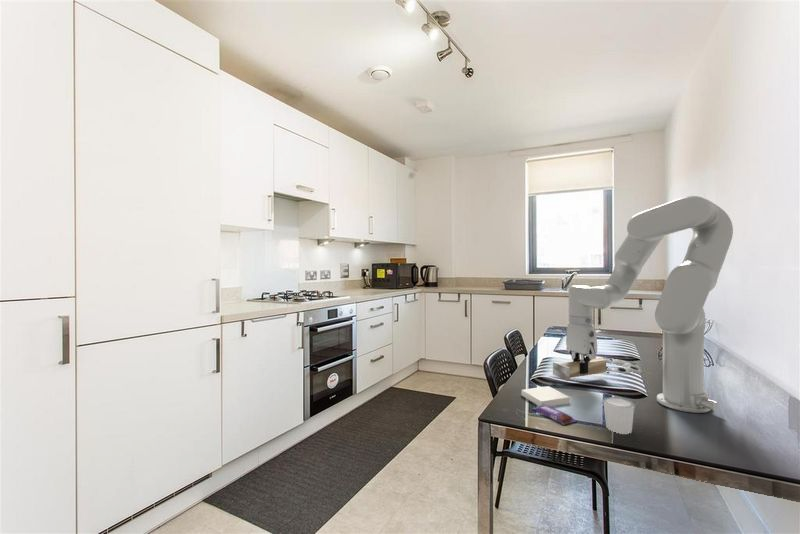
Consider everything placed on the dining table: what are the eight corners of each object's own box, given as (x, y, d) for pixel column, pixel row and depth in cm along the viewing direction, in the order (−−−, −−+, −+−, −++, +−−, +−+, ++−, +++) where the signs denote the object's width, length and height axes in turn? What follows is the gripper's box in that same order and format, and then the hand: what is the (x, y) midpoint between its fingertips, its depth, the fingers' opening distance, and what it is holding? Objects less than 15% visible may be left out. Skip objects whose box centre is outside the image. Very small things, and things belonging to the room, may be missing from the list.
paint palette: (627, 361, 152) (627, 356, 152) (653, 376, 132) (653, 371, 132) (577, 360, 155) (577, 355, 154) (596, 375, 135) (596, 370, 135)
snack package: (531, 405, 106) (544, 402, 108) (531, 411, 106) (544, 408, 108) (563, 421, 95) (577, 417, 97) (563, 428, 95) (577, 424, 97)
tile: (569, 397, 109) (541, 401, 107) (569, 404, 110) (541, 408, 107) (548, 386, 119) (521, 389, 117) (548, 392, 119) (521, 396, 117)
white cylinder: (625, 423, 96) (625, 396, 96) (640, 435, 89) (640, 407, 89) (598, 422, 97) (598, 396, 96) (611, 435, 90) (610, 407, 90)
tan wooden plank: (611, 374, 128) (611, 361, 127) (567, 381, 122) (567, 367, 122) (595, 368, 134) (595, 356, 134) (552, 374, 129) (552, 362, 128)
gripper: (608, 323, 121) (608, 378, 121) (572, 316, 136) (572, 364, 137) (590, 325, 119) (590, 380, 119) (555, 317, 134) (555, 366, 134)
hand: (580, 371), depth 128 cm, fingers closed on tan wooden plank, 2 cm apart
